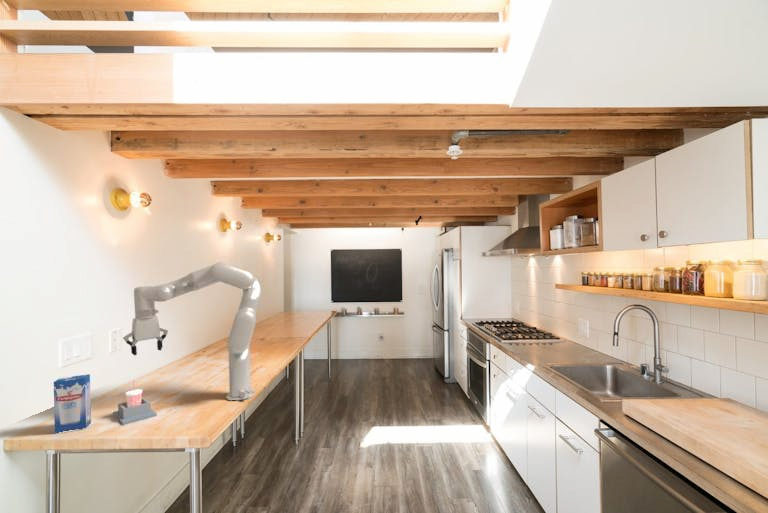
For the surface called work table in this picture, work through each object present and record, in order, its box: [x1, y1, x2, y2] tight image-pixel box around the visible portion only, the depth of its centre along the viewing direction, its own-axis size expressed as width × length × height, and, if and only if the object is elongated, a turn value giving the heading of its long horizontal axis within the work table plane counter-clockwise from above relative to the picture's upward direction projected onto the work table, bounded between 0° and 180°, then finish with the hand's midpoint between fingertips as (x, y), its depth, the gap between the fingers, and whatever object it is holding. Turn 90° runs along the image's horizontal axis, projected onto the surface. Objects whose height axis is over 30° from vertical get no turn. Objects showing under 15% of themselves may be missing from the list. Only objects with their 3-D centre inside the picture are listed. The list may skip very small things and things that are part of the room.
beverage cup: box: [125, 379, 143, 407], centre depth 162 cm, size 6×6×14 cm
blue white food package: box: [53, 374, 92, 434], centre depth 150 cm, size 10×6×20 cm, turn 114°
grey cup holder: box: [112, 397, 157, 426], centre depth 162 cm, size 18×12×5 cm, turn 46°
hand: (147, 352), depth 167 cm, fingers open, 9 cm apart
